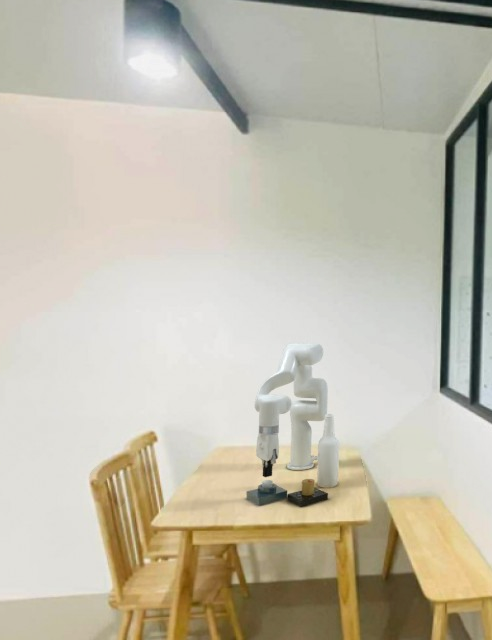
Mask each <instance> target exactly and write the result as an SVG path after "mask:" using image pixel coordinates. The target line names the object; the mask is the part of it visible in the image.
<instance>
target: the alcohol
mask: <svg viewBox="0 0 492 640" xmlns="http://www.w3.org/2000/svg"><path fill="white" fill-rule="evenodd" d="M317 456H318V460H317V473H316V475H317V476H316V484H317V486H318V487H320V488H327V489H328V488H333V487H335V486H337V485H338V483H339V456H340V442H339V439H338V437H336V435H335V415H334V414H333V413H330V414H329V413H327V415H325V420H324V425H323V433H322V437H321V438H320V439H319V440H318V444H317Z"/></svg>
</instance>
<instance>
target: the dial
mask: <svg viewBox="0 0 492 640" xmlns="http://www.w3.org/2000/svg"><path fill="white" fill-rule="evenodd" d="M315 482H316V481H315V479H313V478H305V479H302V480H301V490H302V495H305V496H309V495H313V494H314V487H315Z"/></svg>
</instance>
